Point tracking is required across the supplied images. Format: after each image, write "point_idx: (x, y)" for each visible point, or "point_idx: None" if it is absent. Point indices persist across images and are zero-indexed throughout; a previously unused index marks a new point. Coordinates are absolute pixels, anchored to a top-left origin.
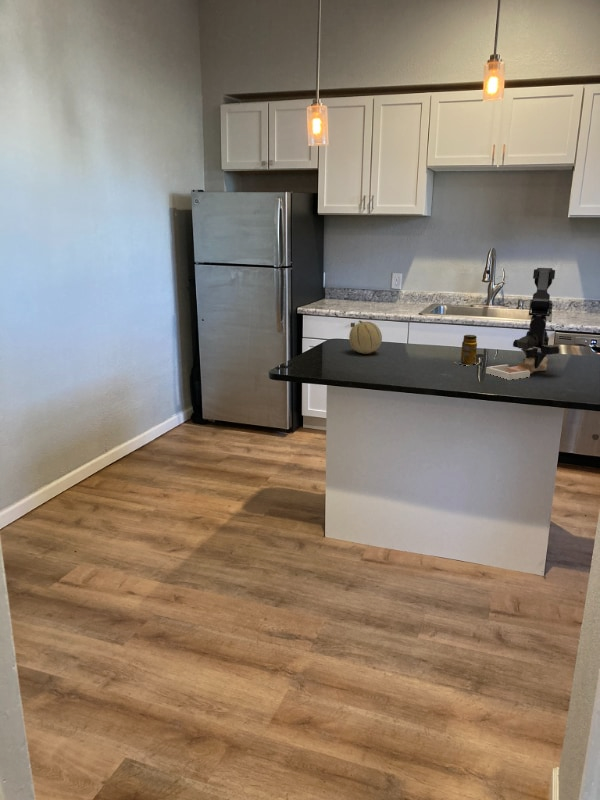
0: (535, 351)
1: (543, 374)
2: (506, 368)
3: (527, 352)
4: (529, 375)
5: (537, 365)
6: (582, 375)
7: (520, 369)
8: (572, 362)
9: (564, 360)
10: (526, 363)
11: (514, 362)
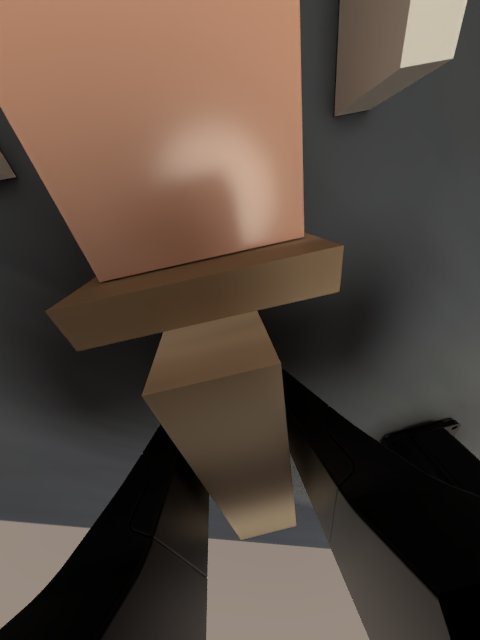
0: (357, 604)
1: (136, 378)
2: (365, 34)
3: (395, 560)
4: None
5: None
6: None
7: (53, 82)
8: (314, 518)
9: None
10: (217, 322)
11: (467, 365)
